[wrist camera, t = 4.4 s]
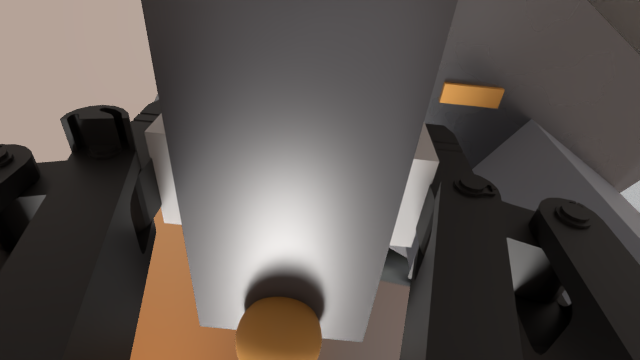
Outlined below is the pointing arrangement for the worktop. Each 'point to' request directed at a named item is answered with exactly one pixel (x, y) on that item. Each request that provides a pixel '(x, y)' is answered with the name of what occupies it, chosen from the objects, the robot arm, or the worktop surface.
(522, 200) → the base
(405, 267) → the worktop surface
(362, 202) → the dark gray slab
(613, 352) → the robot arm
